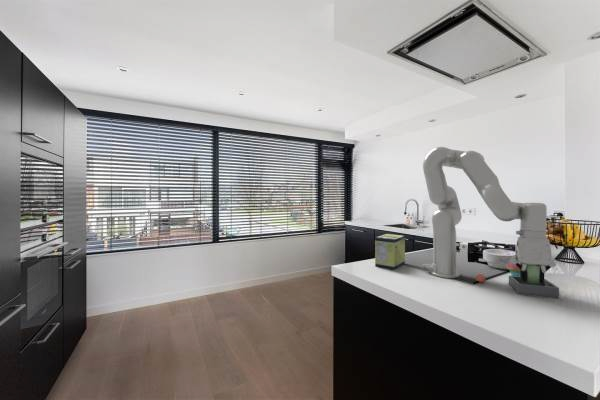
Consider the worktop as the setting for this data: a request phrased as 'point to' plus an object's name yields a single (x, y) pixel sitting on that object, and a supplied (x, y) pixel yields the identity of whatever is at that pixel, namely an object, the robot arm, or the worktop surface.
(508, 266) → the cupcake
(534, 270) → the cucumber chunk
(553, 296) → the bin
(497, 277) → the worktop surface
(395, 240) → the protein box
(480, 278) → the tomato ball
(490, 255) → the paper bowls
